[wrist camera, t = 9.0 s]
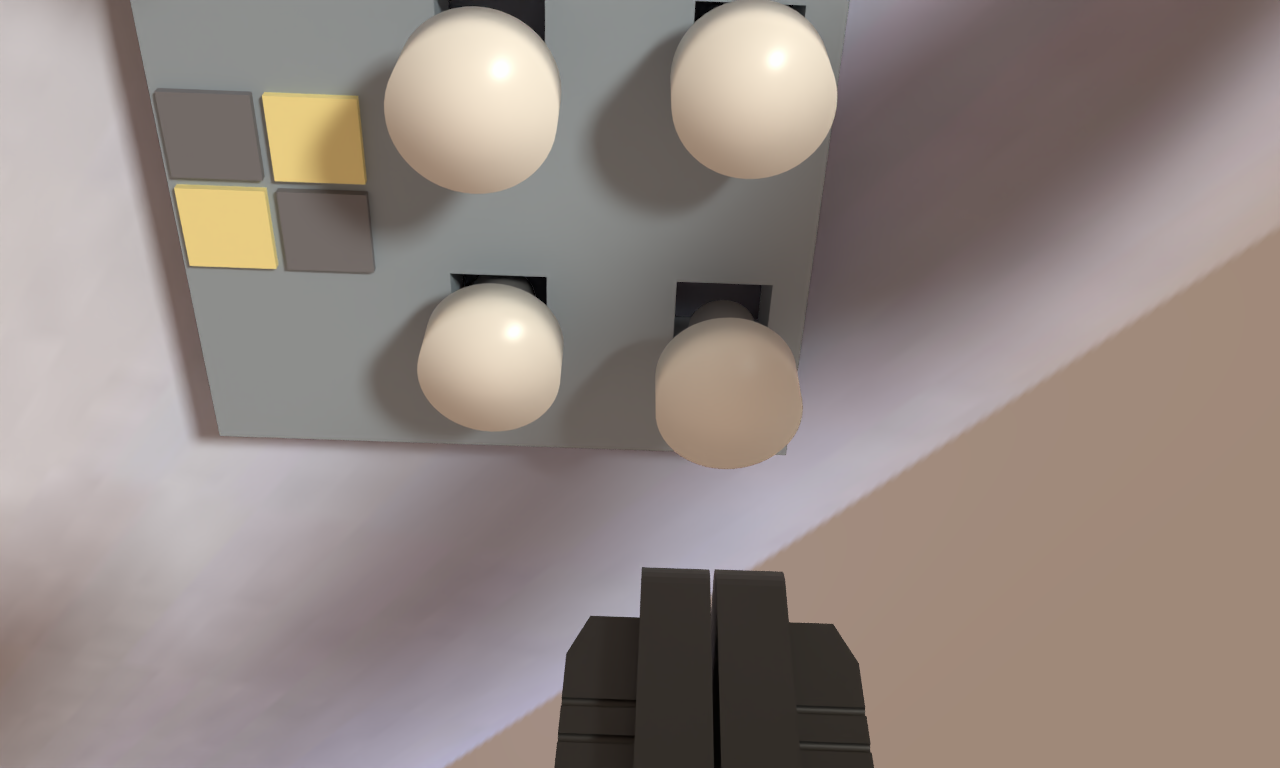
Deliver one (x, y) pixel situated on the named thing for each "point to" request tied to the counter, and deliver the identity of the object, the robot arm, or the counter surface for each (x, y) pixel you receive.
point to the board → (448, 216)
